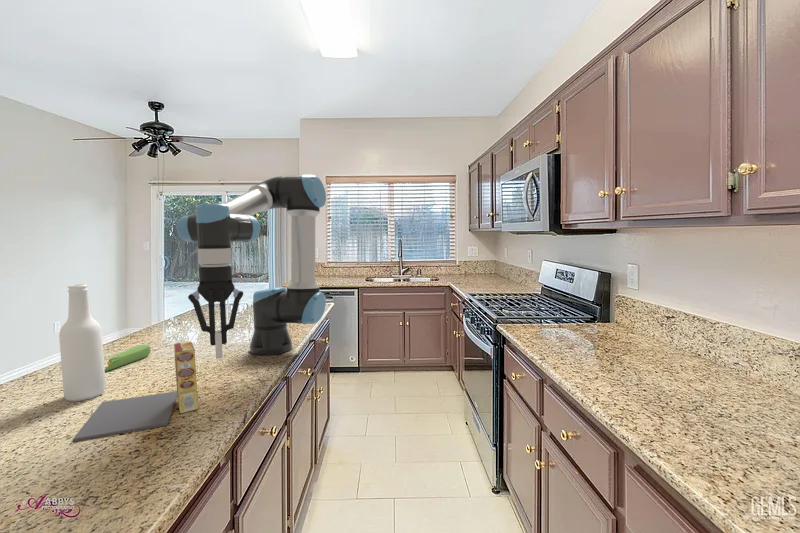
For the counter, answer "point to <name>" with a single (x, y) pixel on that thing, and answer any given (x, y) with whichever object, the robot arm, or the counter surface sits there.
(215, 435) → the counter surface
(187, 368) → the candy box
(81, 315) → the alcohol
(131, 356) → the edible corn
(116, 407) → the rubber mat
